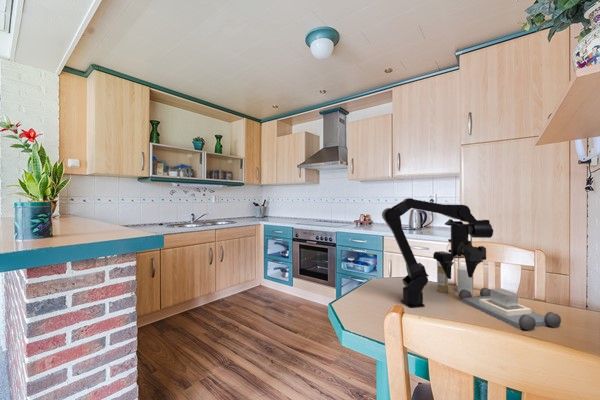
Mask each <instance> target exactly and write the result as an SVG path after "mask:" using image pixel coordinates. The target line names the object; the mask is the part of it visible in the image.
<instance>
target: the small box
mask: <svg viewBox="0 0 600 400" xmlns="http://www.w3.org/2000/svg"><path fill="white" fill-rule="evenodd" d="M456 270H457V273H456V275H457V277H456V278H457V279H456V280H457V293H458V294H459V293H460V291H461V290H463V289H465V290H468V291H470V292H471V295H472V296H473V294H474V275H473V276H472V278H470V277H468V273H467V268H466V265H459V266H458V268H457V269H456Z"/></svg>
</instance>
